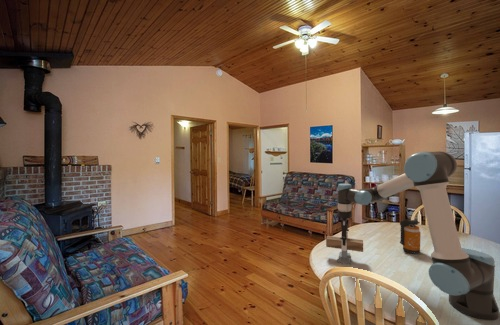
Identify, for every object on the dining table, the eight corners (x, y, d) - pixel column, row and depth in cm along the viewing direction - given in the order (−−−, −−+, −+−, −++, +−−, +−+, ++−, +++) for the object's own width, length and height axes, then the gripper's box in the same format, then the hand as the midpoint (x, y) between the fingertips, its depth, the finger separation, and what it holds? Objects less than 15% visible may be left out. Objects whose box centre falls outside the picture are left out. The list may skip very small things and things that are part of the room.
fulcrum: (349, 264, 138) (349, 252, 138) (338, 262, 140) (338, 250, 140) (350, 255, 149) (350, 244, 148) (339, 253, 151) (339, 243, 151)
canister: (422, 254, 148) (423, 222, 147) (402, 253, 150) (403, 221, 149) (416, 248, 156) (416, 218, 155) (396, 247, 159) (397, 217, 157)
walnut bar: (363, 251, 138) (363, 243, 138) (326, 246, 146) (326, 238, 146) (363, 248, 143) (363, 240, 142) (327, 243, 151) (327, 235, 150)
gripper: (351, 216, 130) (351, 255, 131) (352, 206, 153) (352, 239, 154) (336, 215, 133) (336, 253, 134) (339, 205, 156) (339, 238, 157)
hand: (344, 246), depth 144 cm, fingers open, 13 cm apart
